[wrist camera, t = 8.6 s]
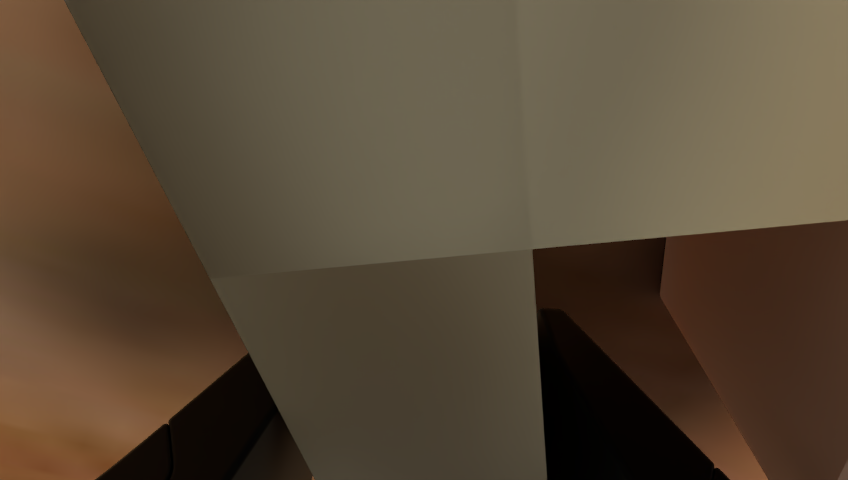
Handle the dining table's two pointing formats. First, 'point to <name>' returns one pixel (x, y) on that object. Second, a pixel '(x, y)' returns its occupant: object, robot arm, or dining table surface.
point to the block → (771, 337)
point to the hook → (457, 183)
